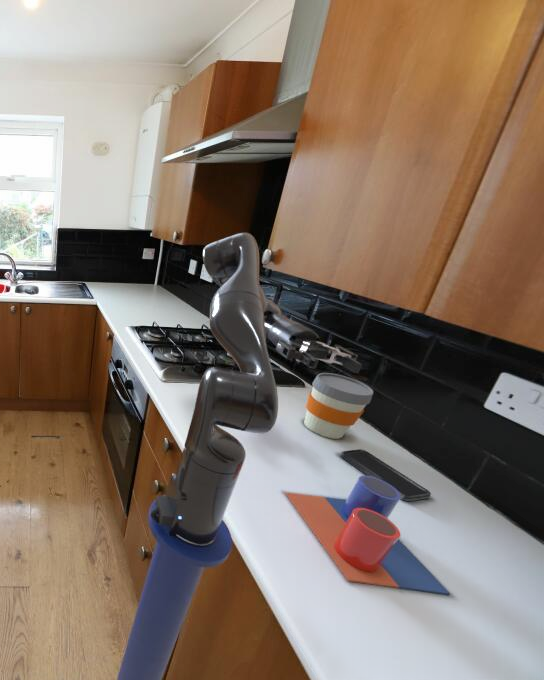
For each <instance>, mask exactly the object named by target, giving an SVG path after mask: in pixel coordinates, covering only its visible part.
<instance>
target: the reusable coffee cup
mask: <svg viewBox="0 0 544 680" xmlns="http://www.w3.org/2000/svg"><path fill="white" fill-rule="evenodd" d="M311 385H312V389H311V391H309V392H308V393H309V394H308V399H307V402H306V406H305V407H306V414H305V417H304V420H303V421H304V422H303V423H304V426H305V427H306V428H307V429H309V431H311V432H313V433H315V434H317V435H319V436H321V437H325V438H328V439H333V440H334V439H336V440H338V439H339V440H340V439H341V438H343V436H344V435H345V434H346V432H347V431H348V430H349V428H351V426H353V425H355V424H356V423H357V421H358V420H359V419H360V417H361V416H362V415H363V413H364V412H365V408H366V406H367V405H370V403H371V401H372V398H373V395H374V390H373V389H372V388H371V387H370V386H368V385H367V384H366V383H364V382H362V381H360V380H357V379H354V378H352V377H350V376H349V377H348V376H345V375H342V374H338V373H331V372H321V373H318V374H317V375H316V376H315V378H314V379H313V381H312V384H311Z"/></svg>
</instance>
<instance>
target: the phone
mask: <svg viewBox="0 0 544 680" xmlns="http://www.w3.org/2000/svg"><path fill="white" fill-rule="evenodd" d="M339 457H340V458H342V459H343V460H344V461H346V462H347V463H348V464H350V465H351V466H353V467H354V468H356V469H357V470H358V471H360V472H361V473H362V474H364V475H366V476H372V477H375V478H378V479H380V480H383V481H385V482H386V483H388V484H390V485H391V486H393V487H394V488H395V489H396V490H397V491H398V492H399V493H400V495H401V499H400V500H402V501H404V502H415V501H421V500H427V499H429V498H430V497H431V495H432V493H431V492H430V491H429V490H428V489H427V488H426V487H424V486H422V485H420V484H418V483H417V482H416V481H414V480H413V479H411V478H409V477H408V476H406V475H404V474H403V473H401V472H400V471H399V470H398V469H396V468H394V467H392V466H391V465H389V464H388V463H386V462H384V461H383V460H381V459H380V458H378V457H376V456H375V455H373V454H372V453H370V452H369V451H367V450H365V449H361V448H360V449H352V450H343V451H341V453H340V456H339Z"/></svg>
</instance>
